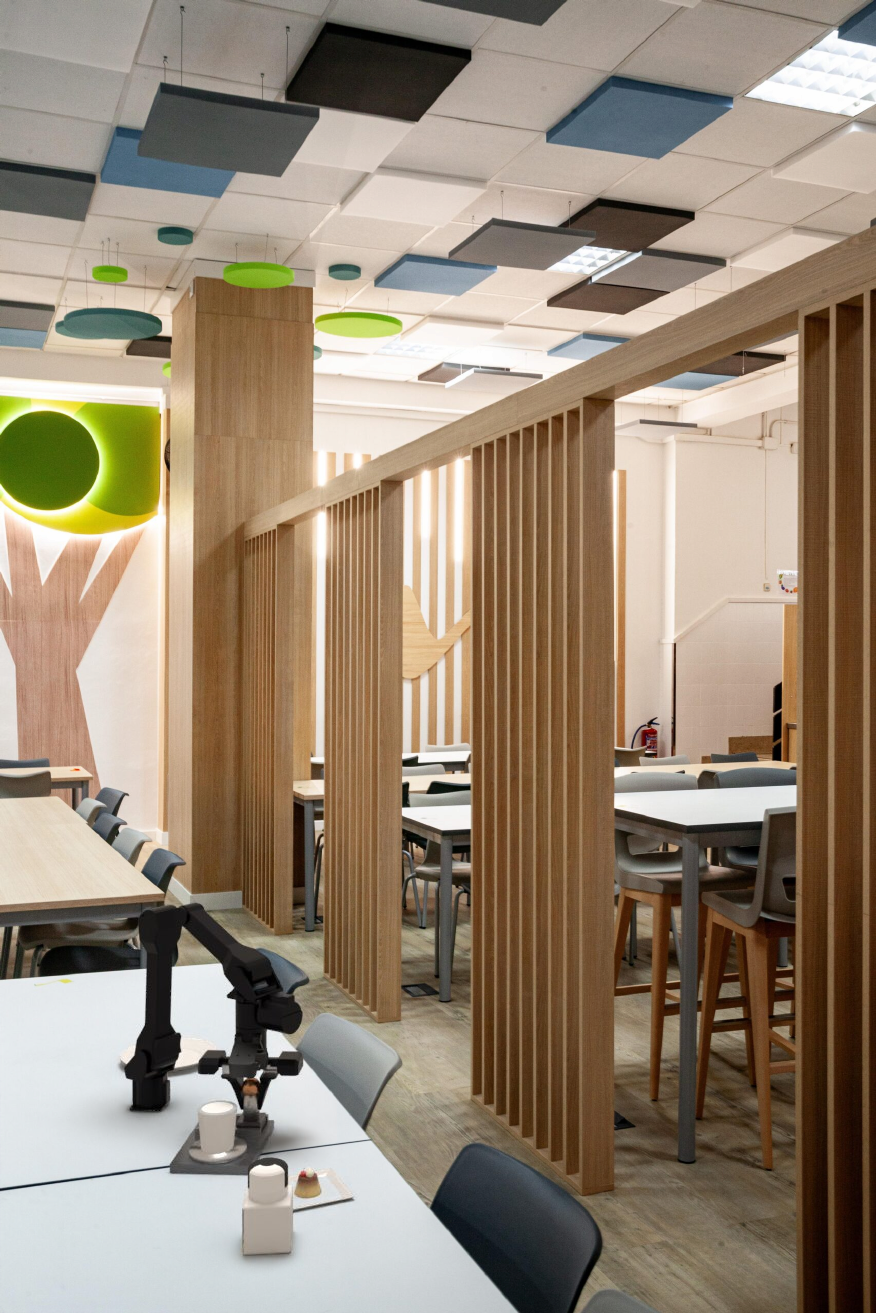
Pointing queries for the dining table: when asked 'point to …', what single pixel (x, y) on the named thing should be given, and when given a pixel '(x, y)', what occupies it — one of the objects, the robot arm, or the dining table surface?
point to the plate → (188, 1056)
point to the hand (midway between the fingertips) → (251, 1109)
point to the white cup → (217, 1126)
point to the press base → (229, 1162)
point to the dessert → (317, 1185)
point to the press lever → (251, 1106)
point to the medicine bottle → (267, 1208)
